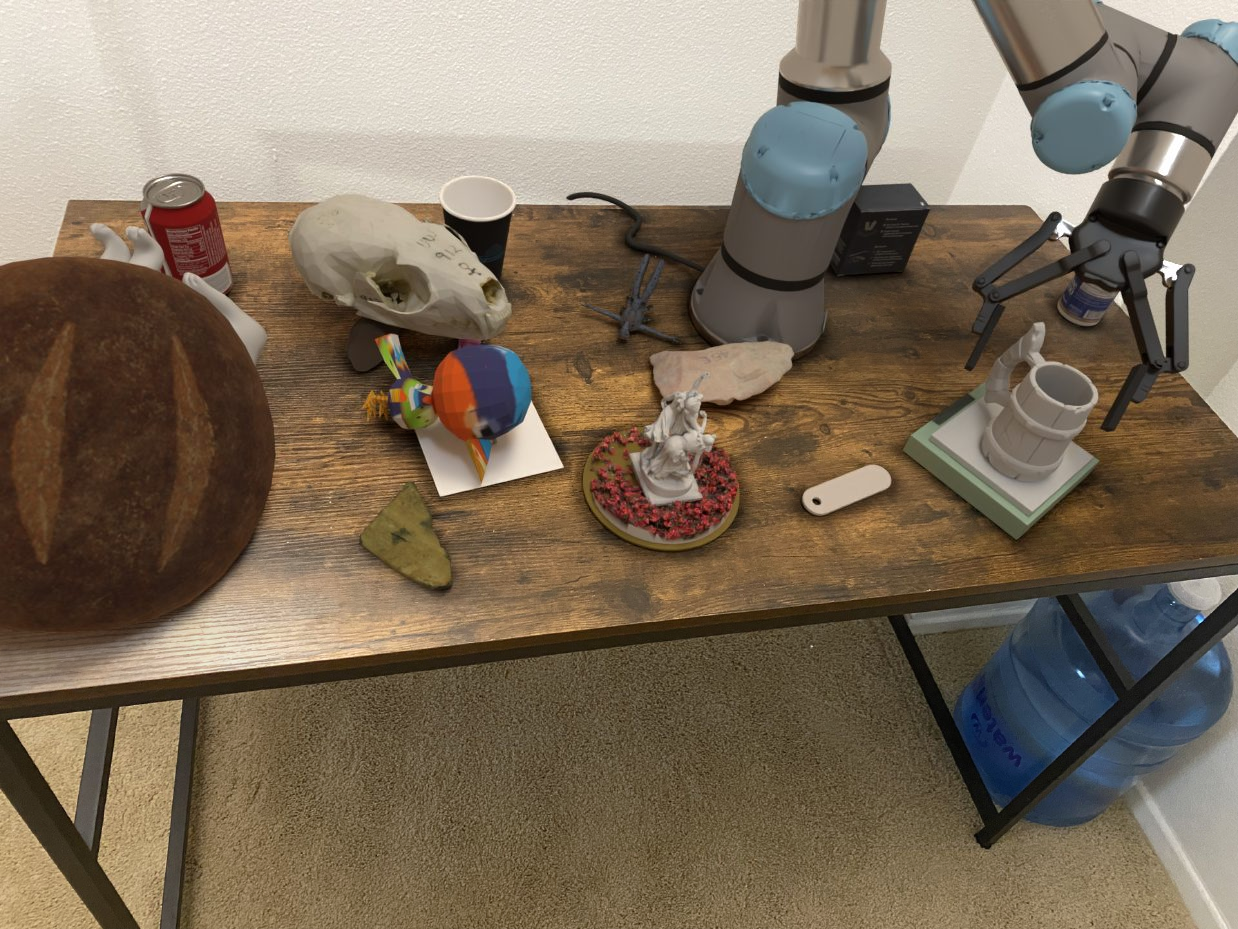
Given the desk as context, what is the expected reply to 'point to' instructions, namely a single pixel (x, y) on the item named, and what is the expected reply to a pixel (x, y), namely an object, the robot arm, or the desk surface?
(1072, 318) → the pill bottle
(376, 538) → the stone
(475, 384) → the toy
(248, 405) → the bread
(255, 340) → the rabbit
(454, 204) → the dixie cup
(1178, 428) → the desk surface
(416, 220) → the skull
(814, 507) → the keychain
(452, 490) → the thin white square sheet
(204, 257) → the soda can
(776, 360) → the stone tool
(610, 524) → the figurine
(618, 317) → the figurine
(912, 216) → the box
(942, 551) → the desk surface
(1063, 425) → the mug
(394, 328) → the figurine
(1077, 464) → the scale
